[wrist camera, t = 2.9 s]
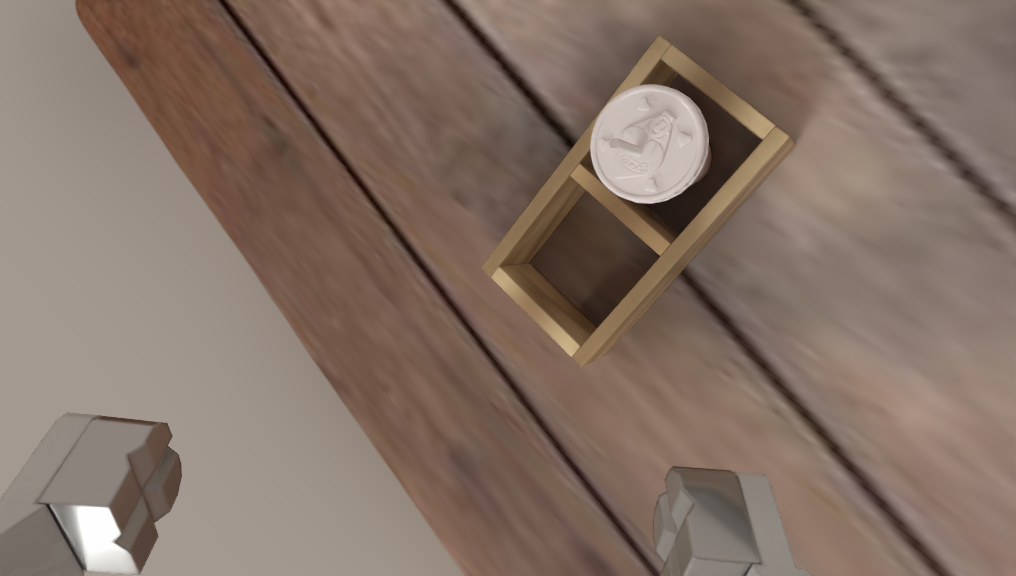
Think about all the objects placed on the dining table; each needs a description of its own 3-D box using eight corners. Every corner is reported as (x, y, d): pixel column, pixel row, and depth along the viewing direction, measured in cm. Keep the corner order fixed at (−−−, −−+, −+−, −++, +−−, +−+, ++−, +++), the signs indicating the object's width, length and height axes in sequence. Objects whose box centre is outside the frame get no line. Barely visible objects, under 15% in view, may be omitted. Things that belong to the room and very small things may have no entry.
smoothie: (617, 165, 48) (535, 144, 36) (680, 89, 46) (617, 38, 33) (685, 227, 47) (625, 227, 34) (755, 151, 44) (718, 122, 32)
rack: (796, 145, 43) (790, 136, 39) (606, 355, 50) (582, 368, 45) (677, 53, 46) (658, 34, 41) (511, 263, 52) (480, 267, 48)
